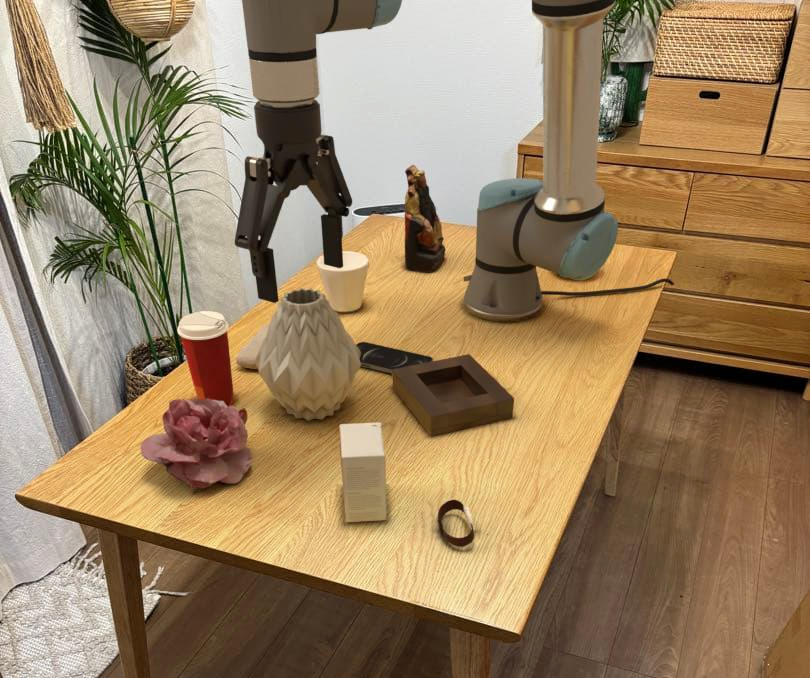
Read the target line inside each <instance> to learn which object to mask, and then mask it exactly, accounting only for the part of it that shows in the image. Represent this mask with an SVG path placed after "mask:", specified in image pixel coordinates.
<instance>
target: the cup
mask: <svg viewBox="0 0 810 678" xmlns="http://www.w3.org/2000/svg"><path fill="white" fill-rule="evenodd" d="M342 252H343V267H342V268H336V267H332V266H328V265H324V255H323V254H322V255H321V256H319V257H318V259H317V260H316V269H317V271H318V273H319V277H320V279H321V283H322V286H323V289H324V292H325V293H324V294H325V297H326V300H328V302H329V304H330V305H331V307H332V309H334V310H335V311H336V312H337V313H340V314H348V313H353V312H357V311H358V310H360V308H361V307H362V303H363V299H364V298H363V297H364V294H365V293H364V292H365V287H366V282H367V277H368V271H369V268H370V260H369V257H368V256H367V255H365V254H363V253H360V252H355V251H347V250H344V251H343V250H342Z"/></svg>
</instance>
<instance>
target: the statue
mask: <svg viewBox="0 0 810 678" xmlns="http://www.w3.org/2000/svg"><path fill="white" fill-rule="evenodd" d="M404 172H405V173H404V174H405V175H406V181H407V191H406V194H405V197H404V264H405V268H406V269H407V270H410V271H416V272H421V273H422V272H423V273H432V272H435V271H436V270H437V268H439V267H440V265H441V264H442V262H443V261H444V260H445V255H446V246H445V245H444V244H443V242H444V236H443V232H442V230H443V229H442V227H443V226H442V222H441V219H440V217H439V215H438V214H437V207H436V205H435V203H434V201H433V199H432V198H431V196H430V187H429V185H428V183H427V178H426V172H425V170H423V169H420V170H419V168H418V167H417V166H416V165H415V164H412V165H410V166H408V167H406V169H405V171H404Z"/></svg>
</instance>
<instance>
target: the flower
mask: <svg viewBox="0 0 810 678" xmlns="http://www.w3.org/2000/svg"><path fill="white" fill-rule="evenodd" d="M247 421H248V411H247V409H246V408H245V407H242V408H241V409H239V410H238V409H237V408H236V406H234V405H232V404H231V405H230V406H229V407H228V406H227V405H226V404H225V403H224V401H218V400H211V399H209V398H208V399H198V398H197V397H195V398H193V399H191V400H188V399H185V398H182V399H181V398H176V399H173V400H171V401H170V402H169V403H168V408H167V410H166V411H165V412H164V413H163V415H162V423H163V430H164V433H158V434H153V435H150V436H148V437H146V438H145V439H144V440H143V441H142V442H141V443H140V450H141V451H140V455H141V456H142V457H143V458H145V459H146V460H147V461H148V462H153V463H156V464H161V465H163V466H164V467H165V470H166V472H167V474H169V475H171V476H172V477H174V478H176V479H177V480H179V481H181V482H184V483H185V484H186V485H187V486H188V487H189V488H190V489H192V490H196V489H206V488H208V487H210V486H212V485H213V484H214V483H218V482H221V483H225V484H229V485H235V484H236V483H240V481H241V480H242V478H243V477H244V476H245V474H246V473H247V471H248V470H249V469H250V468H251V461H252V452H251V450H250V449H249V447H248V446H247V443H248V437H249V436H248V435H249V434H248V430H247V428H246V424H247Z"/></svg>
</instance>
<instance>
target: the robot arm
mask: <svg viewBox="0 0 810 678" xmlns="http://www.w3.org/2000/svg"><path fill="white" fill-rule="evenodd" d="M402 2H403V0H241V3H242V12H243V21H244V29H245V37H246V46H247V54H248V60H249V69H250V79H251V90H252V96H253V97H254V98H255V99H256V100H257V101H256V102H255V104H254V105H253V111H254V119H255V128H256V130H255V131H256V135H257V137H258V139H259V140H260V141H261V142H262V144H263V155H262V157H254V156H249V155H248V156H246V157H245V159H244V177H245V178H244V184H243V190H242V195H241V202H240V207H239V213H238V219H237V225H236V231H235V237H234V245H235V247H237V248H240V249H244V250H248V252H249V257H250V264H251V272H252V273H251V274H253V277H255V282H256V292H257V298H258V299H259V300H263V301H266V302H269V303H272V304H276V303H279V301H280V300H279V291H278V282H277V273H276V263H275V255H274V254H275V253H274V249H273V248H271V247H269V245H270V242H271V239H272V236H273V233H274V230H275V227H276V225H277V222H278V219H279V216H280V213H281V211H282V208H283V205H284V203H285V202H284V201H285V199H287V198H289V196H290V195H291V192H292V191H294V190H297V189H298V188H300V186H306V187H307V189H308V191H310V193H311V194H312V195H313V197H314V198H315V199H316V201H317V202H318V203H319V205H320V206H321V208H322V209H323V210H324V212H325V213H324V214H321V215H320V222H321V223H320V224H321V226H320V227H321V238H322V239H321V241H322V256H323V255H324V265H328V266H332V267H336V268H342V267H343V252H342V251H343V236H344V231H343V229H344V228H343V217H345V218H347V217H348V216H349V214H350V207H352V205H353V197H352V195H351V193H350V190H349V188H348V183H347V182H346V179H345V176H344V173H343V171H342V168H341V165H340V162H339V160H338V157H337V154H336V146H335V139H334V137H333V136H332V135H328V134H322V132H323V130H322V117H321V116H322V115H321V104H320V103H319V101H318V100H316V98H318V97H319V95H320V80H319V65H318V55H317V54H318V53H317V51H318V50H317V35H324V34H326V33H335V32H336V33H337V32H346V31H353V30H363V29H364V30H365V29H367V30H368V31H369V30H373V28H376V27H381V26H384V25H387V24H389V23H391V22H393V20H395V18H396V17H397V15H398V14H399V11H400V9H401V8H402V7H401V6H402ZM615 4H616V0H531V13H532V15H533V16H534V17H535V18H536V19H537V20H538V21H539V22H540V23H541V25H542V157H543V158H542V160H543V162H542V168H543V169H542V174H543V175H542V176H543V178H542V180H540V179H537V178H529V177H519V178H508V179H507V178H506V179H499V180H496V181H492V182H489V183H488V184H486V185H484V186H483V187H482V188H481V190H480V192H479V194H478V195H479V196H478V205H477V208H476V211H477V212H476V234H475V235H476V236H475V260H474V261H475V264H474V267H473V271H472V274H471V275H466V276H463V282H468V284H467V287H466V289H465V292H464V295H463V296H464V297H463V306H464V308H465V310H466V311H467V312H468V313H469V314H471V315H472V316H475V317H478V318H479V319H483V320H487V321H491V322H492V321H493V322H500V323H501V322H503V323H505V322H507V323H509V322H518V321H519V322H520V321H525V320H528V319H530V318H533V317H535V316H536V315H539V313H541V311H542V306H543V296H572V297H576V296H579V297H581V296H595V295H604V294H616V293H624V292H625V293H626V292H634V291H642V290H648V289H650V288H653V287H654V286H657V285H659V284H661V283H667V284H669V285H671V286H675V283H674V281H673V280H672V279H669V278H659V279H658V280H655V281H653V282H651V283H649V284H645V285H639V286H631V287H623V288H612V289H601V290H591V291H557V290H554V291H553V290H542V289H541V285H540V280H539V276H538V270H537V267H538V268H540V269H543V270H546V271H548V272H551V273H554V274H557V275H559V276H560V277H562V278H567V277H568V278H567V279H569V278H571V279H570V280H576V281H585V280H588V279H590V278H591V277H593V276H594V275H596V274H597V273H598V272H599V271H600V270H601V269H602V268H603V266H604V265H605V264H606V262H607V261H608V259H609V258H610V256H611V254H612V252H613V249H614V247H615V244H616V242H617V237H618V233H619V232H618V231H619V223H618V220H617V218H616V217H615V215H613V214H612V213H611V212H609V211H605V206H606V205H605V203H606V202H605V201H606V193H605V190H604V189H603V188H602V187H601V186H600V185H599V184H598V183H597V174H598V171H597V170H598V149H599V128H600V125H599V124H600V104H601V103H600V102H601V101H600V100H601V83H602V82H601V81H602V57H603V36H604V35H603V34H604V18H605V16H606V15H607V14H608V13H609V12H610V10H612V8H613V7H614V6H615ZM274 183H275V185H274Z"/></svg>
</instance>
